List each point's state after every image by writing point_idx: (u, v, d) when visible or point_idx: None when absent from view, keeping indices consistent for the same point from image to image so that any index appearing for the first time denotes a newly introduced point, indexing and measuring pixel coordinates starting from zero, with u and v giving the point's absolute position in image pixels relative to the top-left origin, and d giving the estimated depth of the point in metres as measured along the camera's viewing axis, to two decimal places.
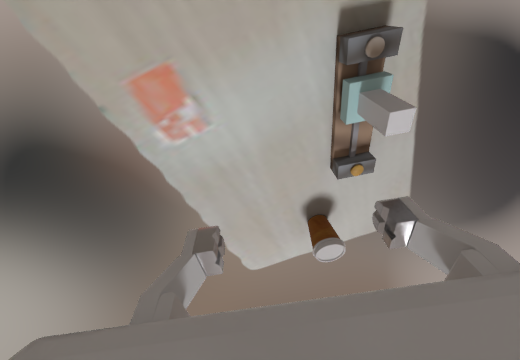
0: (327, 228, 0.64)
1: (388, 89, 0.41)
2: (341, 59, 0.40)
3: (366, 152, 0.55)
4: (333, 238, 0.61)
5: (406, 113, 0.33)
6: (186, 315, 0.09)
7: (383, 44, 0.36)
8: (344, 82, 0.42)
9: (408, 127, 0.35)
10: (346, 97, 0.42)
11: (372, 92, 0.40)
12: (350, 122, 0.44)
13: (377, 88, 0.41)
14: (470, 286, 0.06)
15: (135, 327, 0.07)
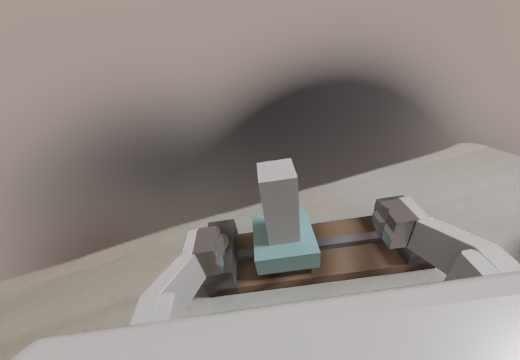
0: None
1: None
2: (230, 283, 0.28)
3: None
4: None
5: (263, 168, 0.24)
6: (186, 315, 0.09)
7: None
8: (259, 271, 0.28)
9: (284, 160, 0.25)
10: (277, 262, 0.27)
11: None
12: (316, 246, 0.27)
13: (265, 226, 0.31)
14: (470, 286, 0.06)
15: (135, 327, 0.07)
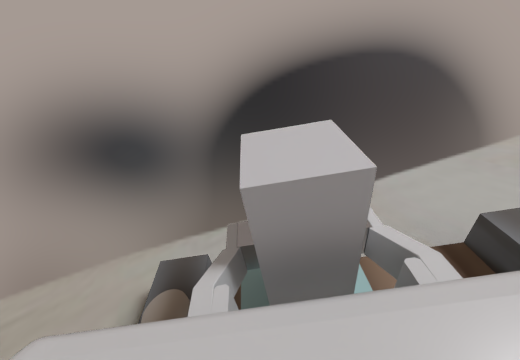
0: None
1: None
2: None
3: (470, 247, 0.19)
4: None
5: (257, 145, 0.09)
6: (236, 308, 0.09)
7: (167, 293, 0.15)
8: None
9: (315, 125, 0.09)
10: None
11: None
12: None
13: None
14: (470, 286, 0.06)
15: (135, 327, 0.07)
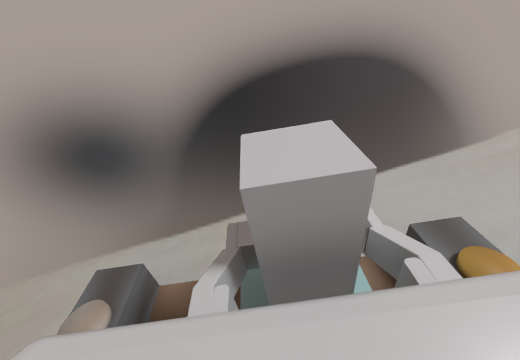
0: None
1: None
2: None
3: None
4: None
5: (257, 146, 0.09)
6: (236, 308, 0.09)
7: (90, 303, 0.15)
8: None
9: (315, 126, 0.09)
10: None
11: None
12: None
13: None
14: (470, 286, 0.06)
15: (135, 327, 0.07)
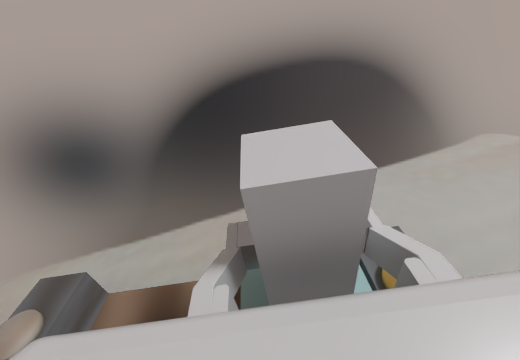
0: None
1: None
2: None
3: None
4: None
5: (257, 146, 0.09)
6: (236, 308, 0.09)
7: (24, 313, 0.15)
8: None
9: (315, 126, 0.09)
10: None
11: None
12: None
13: None
14: (470, 286, 0.06)
15: (135, 327, 0.07)
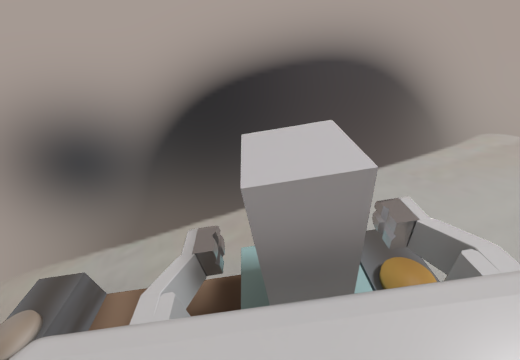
0: None
1: None
2: None
3: None
4: None
5: (258, 145, 0.09)
6: (186, 315, 0.09)
7: (21, 314, 0.15)
8: None
9: (315, 125, 0.09)
10: None
11: None
12: None
13: None
14: (470, 286, 0.06)
15: (135, 327, 0.07)
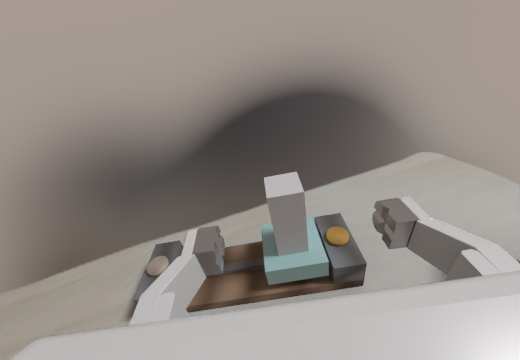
0: None
1: None
2: None
3: None
4: None
5: (270, 183, 0.26)
6: (186, 315, 0.09)
7: (158, 257, 0.33)
8: (270, 281, 0.29)
9: (290, 174, 0.26)
10: (287, 272, 0.28)
11: None
12: (324, 256, 0.28)
13: (274, 236, 0.32)
14: (470, 286, 0.06)
15: (135, 327, 0.07)
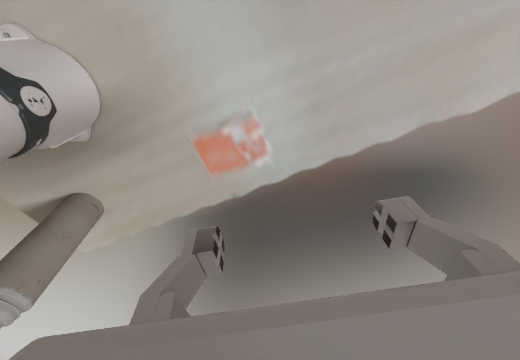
0: None
1: None
2: None
3: None
4: None
5: None
6: (186, 315, 0.09)
7: None
8: None
9: None
10: None
11: None
12: None
13: None
14: (470, 286, 0.06)
15: (135, 327, 0.07)
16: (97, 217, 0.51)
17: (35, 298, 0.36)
